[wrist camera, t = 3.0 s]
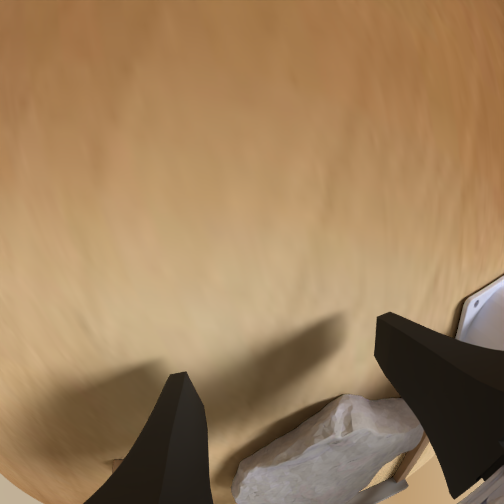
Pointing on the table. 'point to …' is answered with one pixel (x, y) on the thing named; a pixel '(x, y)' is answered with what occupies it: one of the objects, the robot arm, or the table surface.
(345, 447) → the stone block
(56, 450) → the table surface
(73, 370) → the table surface
